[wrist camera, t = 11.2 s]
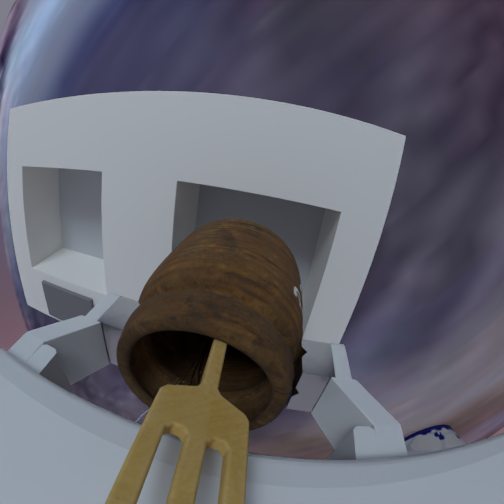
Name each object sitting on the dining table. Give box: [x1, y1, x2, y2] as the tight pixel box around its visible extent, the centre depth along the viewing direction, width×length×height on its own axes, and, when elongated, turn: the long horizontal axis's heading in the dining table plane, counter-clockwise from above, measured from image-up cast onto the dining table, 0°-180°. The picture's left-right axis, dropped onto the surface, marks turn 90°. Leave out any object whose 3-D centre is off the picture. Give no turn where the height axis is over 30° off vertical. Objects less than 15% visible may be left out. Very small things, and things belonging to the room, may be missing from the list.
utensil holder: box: [105, 218, 303, 504], centre depth 8 cm, size 6×6×12 cm
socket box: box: [7, 91, 406, 344], centre depth 16 cm, size 24×16×5 cm, turn 80°
